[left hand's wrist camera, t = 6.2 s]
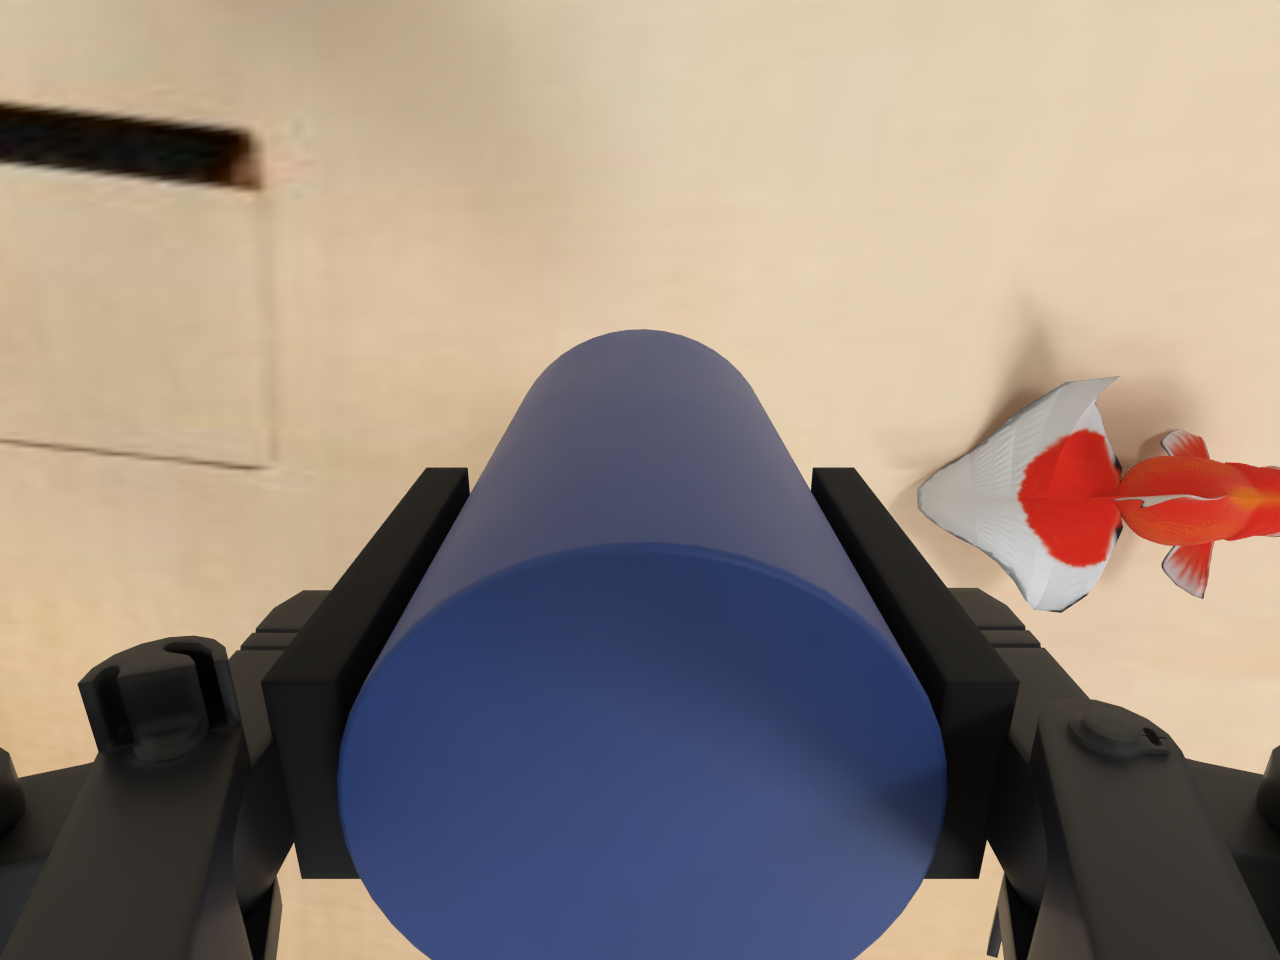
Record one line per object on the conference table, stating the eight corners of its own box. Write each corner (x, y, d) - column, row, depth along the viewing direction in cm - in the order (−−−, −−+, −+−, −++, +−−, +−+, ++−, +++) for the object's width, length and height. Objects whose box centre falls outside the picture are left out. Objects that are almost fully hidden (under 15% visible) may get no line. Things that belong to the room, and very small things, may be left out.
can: (591, 611, 20) (536, 1090, 9) (461, 407, 18) (202, 718, 7) (811, 507, 19) (1032, 914, 8) (699, 278, 17) (798, 424, 6)
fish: (1214, 668, 37) (1318, 706, 28) (894, 561, 43) (891, 563, 33) (1285, 460, 37) (1414, 428, 28) (955, 379, 43) (969, 329, 33)
